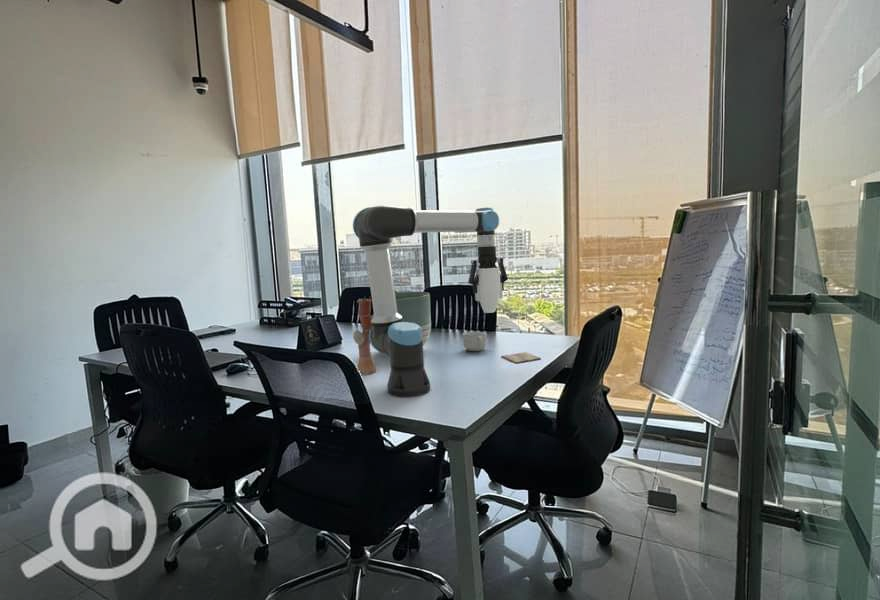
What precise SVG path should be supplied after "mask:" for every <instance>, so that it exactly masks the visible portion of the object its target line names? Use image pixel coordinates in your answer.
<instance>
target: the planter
mask: <svg viewBox="0 0 880 600" xmlns="http://www.w3.org/2000/svg"><path fill="white" fill-rule="evenodd" d="M395 298H396V306H397V312H398V314H400V315H401V316H402V319H403V322H408V323H415V324H417V325H419V326H420V327H421V330H422V335H423V347H424V346H425V345H426V344H427V343H428V341H429V339H430V336H431V331H432V320H431V319H432V318H431V317H432V316H431V314H432V313H431V294H430V292H428V291H427V292H425V291H395ZM372 309H373V308H372ZM372 312H373V313H374V309H373V311H372Z"/></svg>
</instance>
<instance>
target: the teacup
mask: <svg viewBox="0 0 880 600" xmlns="http://www.w3.org/2000/svg"><path fill="white" fill-rule="evenodd" d="M462 341H463V342H462V343H463V347H464V348H465V349H466V350H467V351H469V352H480V351H483V349H485V348H486V344H487V333H486V332H483V331H465V332H464V333H462Z"/></svg>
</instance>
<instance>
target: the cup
mask: <svg viewBox="0 0 880 600" xmlns="http://www.w3.org/2000/svg"><path fill="white" fill-rule="evenodd" d="M500 274H501V273H500V269H499V266H497V268H485V269H479V267H477V268H476V273H475V276H476V275H479V282H478V284H477V285H479V291H480V301H479V303H480V307H481V308H482V311H483V312H484V314H489V313H490V314H492V313H495V312H496V310H497V307H498V304H499V301H500V298H499V295H500Z"/></svg>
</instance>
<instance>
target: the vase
mask: <svg viewBox="0 0 880 600" xmlns="http://www.w3.org/2000/svg"><path fill="white" fill-rule="evenodd" d="M356 303H357V304H359V313H358V315H359V316H358V317H359V320H360V324H361V327H362V331H360V330H358V329H355V330H354V331H353V335H352V337H353V341H354V342H355V344H357V347H358V354H359V357H358V364H357V369H358V370H359V371H360V373H361V375H362V374H363V375H364V374H365V375H364V376H367V375H366V374H368V375H372V373H373V374H375V373H376V371H377V369H376V365H375V362H374V359H373V358H372V353H371V343H370V340H369V332H370V329H371V328H372V325H371V320H372V319H373V317H374V313H373V314H371V307H372V299H370V298H360V299H358V300H357V301H356ZM361 375H360V376H361ZM363 375H362V376H363Z"/></svg>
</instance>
